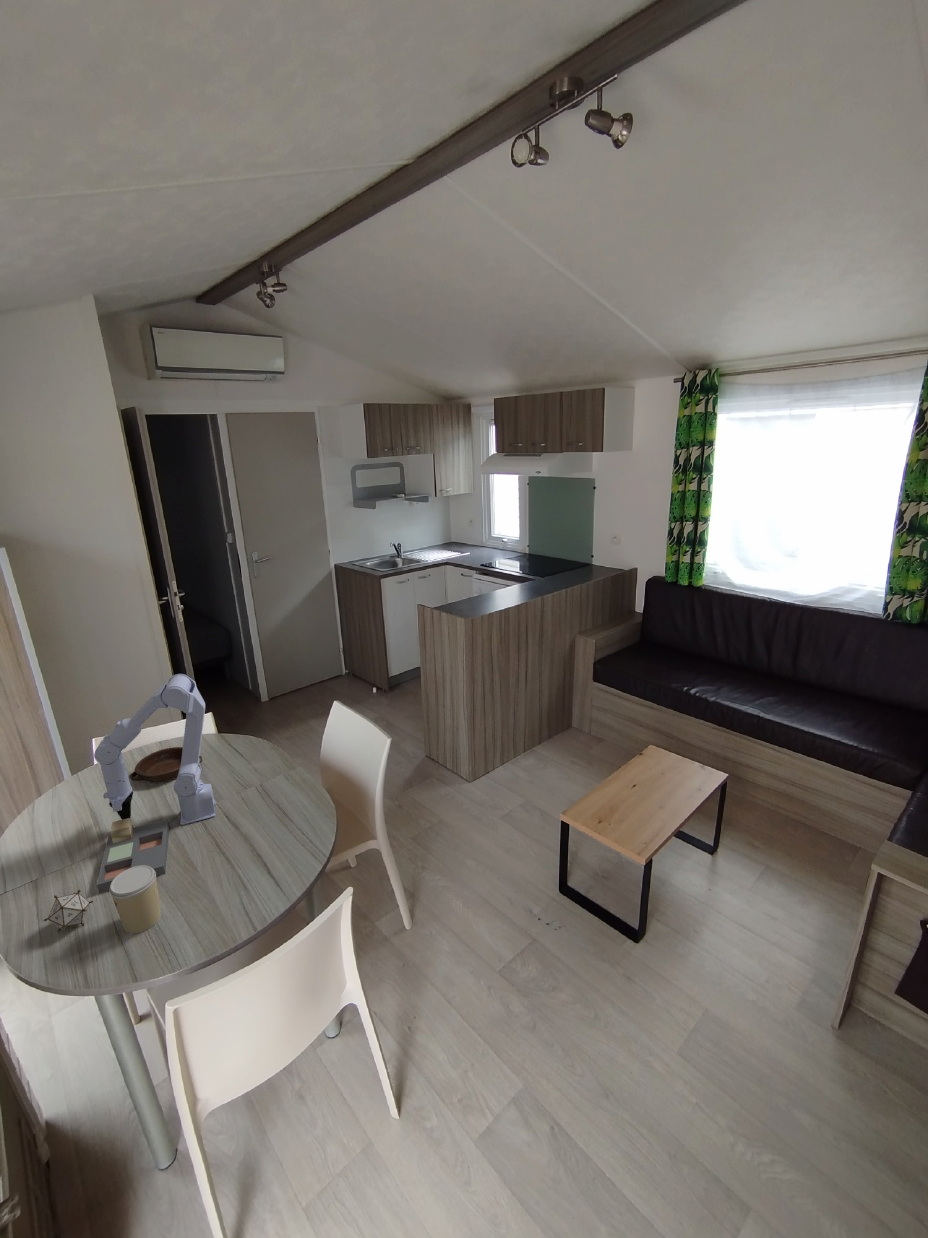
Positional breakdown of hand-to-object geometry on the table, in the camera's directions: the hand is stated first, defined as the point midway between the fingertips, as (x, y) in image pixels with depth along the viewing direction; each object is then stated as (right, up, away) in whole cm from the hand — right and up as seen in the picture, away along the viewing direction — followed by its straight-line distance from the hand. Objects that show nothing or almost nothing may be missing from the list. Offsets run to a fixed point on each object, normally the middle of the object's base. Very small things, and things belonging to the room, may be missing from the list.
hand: (126, 818), depth 164 cm
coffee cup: (+23, -13, -32) cm, 41 cm away
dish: (-3, +5, +29) cm, 29 cm away
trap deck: (+10, -7, -11) cm, 16 cm away
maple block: (+3, -3, -7) cm, 8 cm away
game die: (+7, -14, -32) cm, 35 cm away
